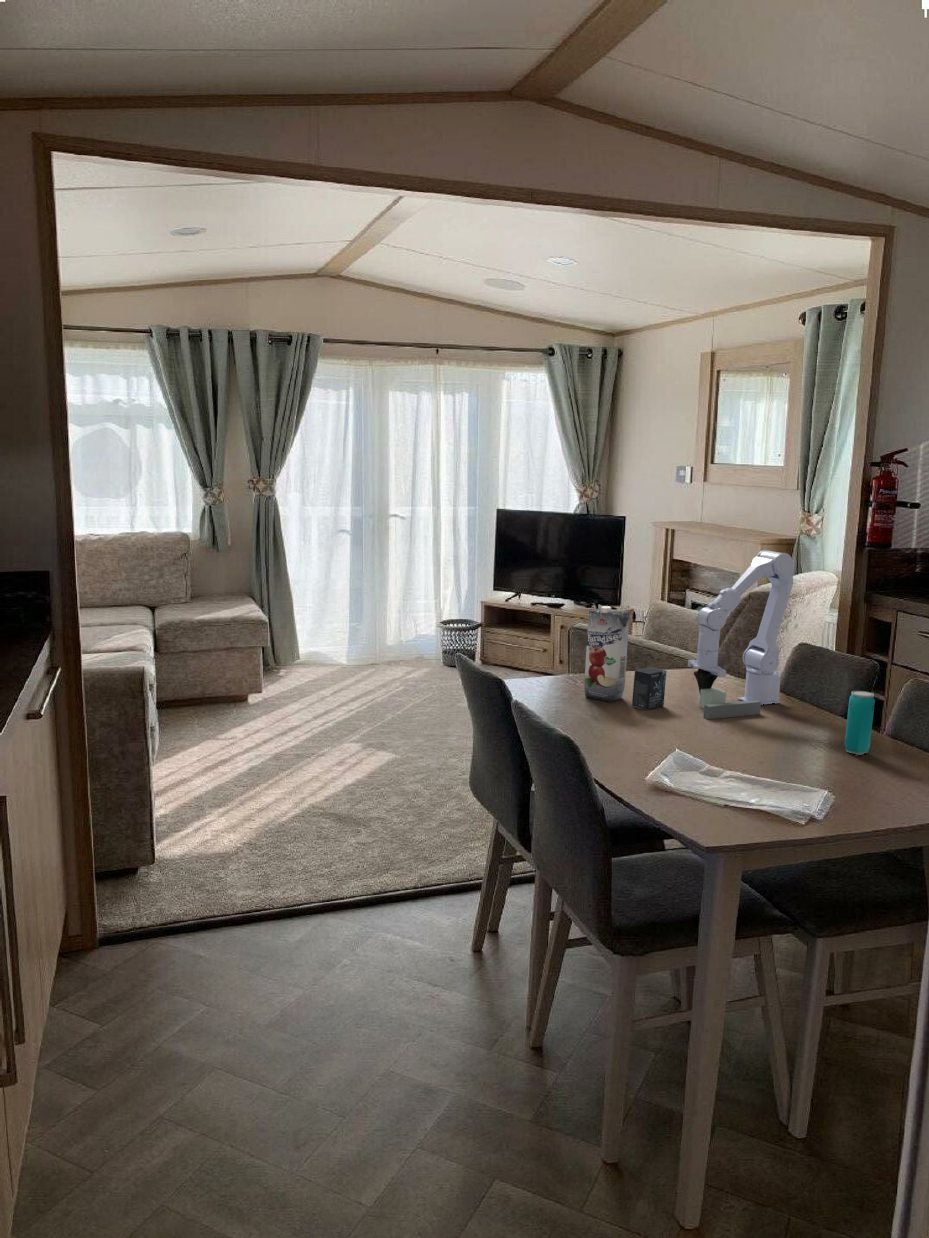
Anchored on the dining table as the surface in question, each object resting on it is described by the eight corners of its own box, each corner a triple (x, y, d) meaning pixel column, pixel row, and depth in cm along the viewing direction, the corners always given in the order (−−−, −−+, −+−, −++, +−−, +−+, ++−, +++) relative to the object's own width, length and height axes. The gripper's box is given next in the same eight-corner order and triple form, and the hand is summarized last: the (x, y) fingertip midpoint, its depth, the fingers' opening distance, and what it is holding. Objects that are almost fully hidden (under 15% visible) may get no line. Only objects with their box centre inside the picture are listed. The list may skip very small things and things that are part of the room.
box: (647, 710, 274) (650, 673, 272) (631, 706, 278) (633, 669, 276) (664, 706, 279) (667, 669, 278) (647, 702, 283) (650, 666, 282)
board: (755, 712, 277) (756, 700, 276) (759, 714, 275) (761, 701, 274) (703, 717, 269) (704, 704, 269) (708, 719, 267) (709, 706, 267)
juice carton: (594, 691, 293) (600, 602, 288) (626, 698, 287) (633, 606, 282) (580, 697, 286) (585, 605, 281) (612, 703, 280) (618, 609, 275)
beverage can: (868, 751, 243) (874, 692, 241) (869, 757, 238) (876, 697, 235) (843, 748, 245) (849, 689, 243) (844, 754, 240) (850, 694, 237)
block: (713, 705, 283) (714, 688, 282) (724, 709, 278) (726, 692, 278) (699, 706, 281) (700, 689, 280) (710, 710, 276) (712, 693, 275)
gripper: (680, 645, 285) (677, 691, 287) (713, 655, 272) (709, 703, 274) (700, 644, 288) (696, 689, 290) (733, 654, 275) (729, 701, 277)
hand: (704, 696), depth 283 cm, fingers closed
